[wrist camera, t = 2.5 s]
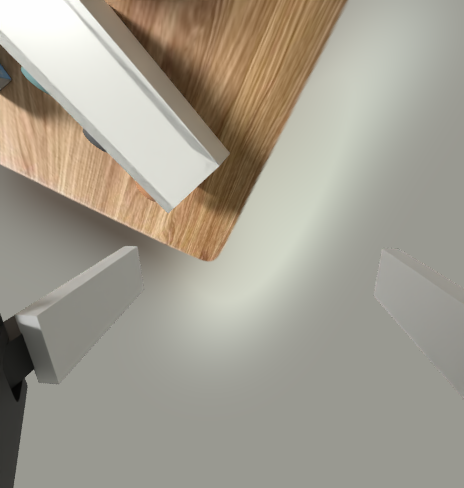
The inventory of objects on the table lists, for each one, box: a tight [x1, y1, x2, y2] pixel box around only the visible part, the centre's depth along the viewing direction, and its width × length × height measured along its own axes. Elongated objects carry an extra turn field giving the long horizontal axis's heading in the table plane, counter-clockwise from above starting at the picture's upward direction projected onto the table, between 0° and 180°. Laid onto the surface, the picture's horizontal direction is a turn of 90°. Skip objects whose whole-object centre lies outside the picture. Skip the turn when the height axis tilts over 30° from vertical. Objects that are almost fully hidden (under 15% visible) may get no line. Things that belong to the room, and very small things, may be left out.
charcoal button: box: [83, 128, 108, 153], centre depth 31 cm, size 4×3×4 cm
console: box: [0, 0, 230, 213], centre depth 30 cm, size 25×8×16 cm, turn 41°
